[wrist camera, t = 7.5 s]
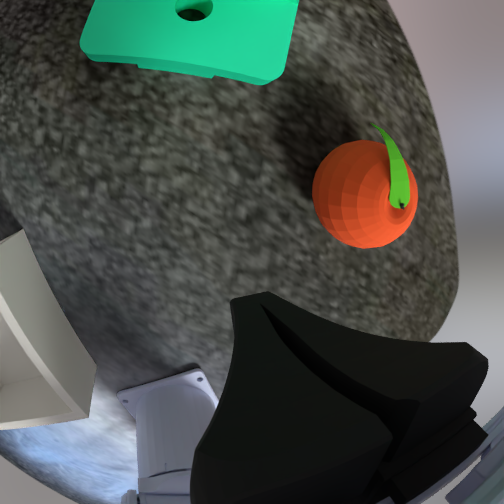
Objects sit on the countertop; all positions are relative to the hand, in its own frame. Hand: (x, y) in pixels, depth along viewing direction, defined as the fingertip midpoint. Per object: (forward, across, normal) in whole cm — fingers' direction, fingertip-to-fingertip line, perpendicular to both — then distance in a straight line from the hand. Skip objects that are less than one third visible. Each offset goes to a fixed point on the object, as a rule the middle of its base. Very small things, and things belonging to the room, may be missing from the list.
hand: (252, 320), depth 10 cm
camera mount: (+11, 0, -14) cm, 18 cm away
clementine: (+11, -10, -3) cm, 15 cm away
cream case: (+10, +18, +4) cm, 21 cm away
